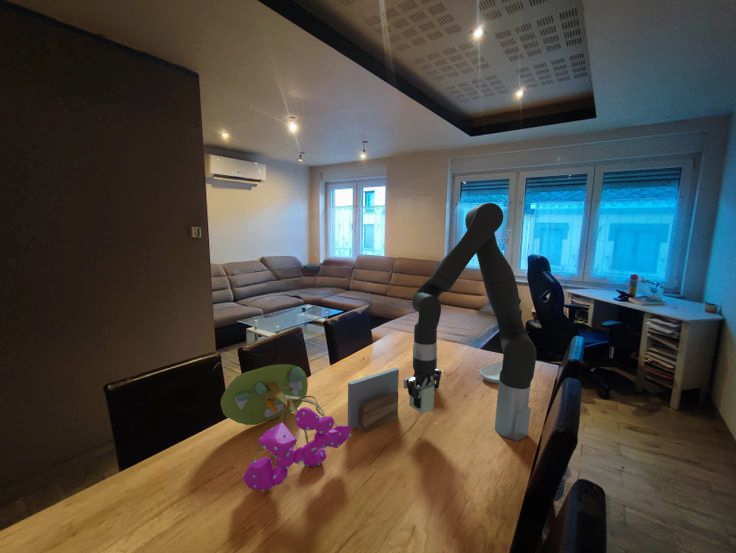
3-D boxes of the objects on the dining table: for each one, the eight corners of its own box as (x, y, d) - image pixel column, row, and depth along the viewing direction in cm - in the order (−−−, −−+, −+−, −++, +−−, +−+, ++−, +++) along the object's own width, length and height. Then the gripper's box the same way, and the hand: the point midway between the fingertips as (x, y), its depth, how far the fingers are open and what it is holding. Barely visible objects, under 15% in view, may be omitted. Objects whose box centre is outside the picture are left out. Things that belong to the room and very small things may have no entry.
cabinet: (433, 408, 104) (434, 385, 102) (422, 414, 101) (423, 390, 99) (413, 396, 111) (414, 375, 110) (403, 401, 108) (403, 379, 107)
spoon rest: (497, 389, 132) (498, 373, 131) (473, 378, 142) (474, 363, 141) (527, 375, 146) (529, 360, 145) (504, 366, 155) (505, 352, 154)
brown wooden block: (397, 418, 111) (398, 392, 109) (364, 433, 103) (364, 405, 101) (390, 413, 114) (391, 388, 112) (357, 427, 106) (358, 399, 104)
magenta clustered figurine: (303, 333, 106) (351, 396, 77) (319, 397, 117) (367, 473, 89) (206, 372, 93) (222, 464, 65) (235, 440, 105) (259, 544, 76)
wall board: (397, 410, 115) (398, 369, 113) (350, 430, 104) (350, 384, 101) (394, 408, 117) (395, 367, 114) (347, 427, 105) (348, 382, 103)
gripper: (417, 364, 94) (416, 417, 96) (449, 353, 102) (447, 402, 105) (399, 356, 100) (399, 406, 102) (431, 346, 108) (430, 392, 111)
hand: (423, 404), depth 104 cm, fingers closed on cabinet, 5 cm apart
